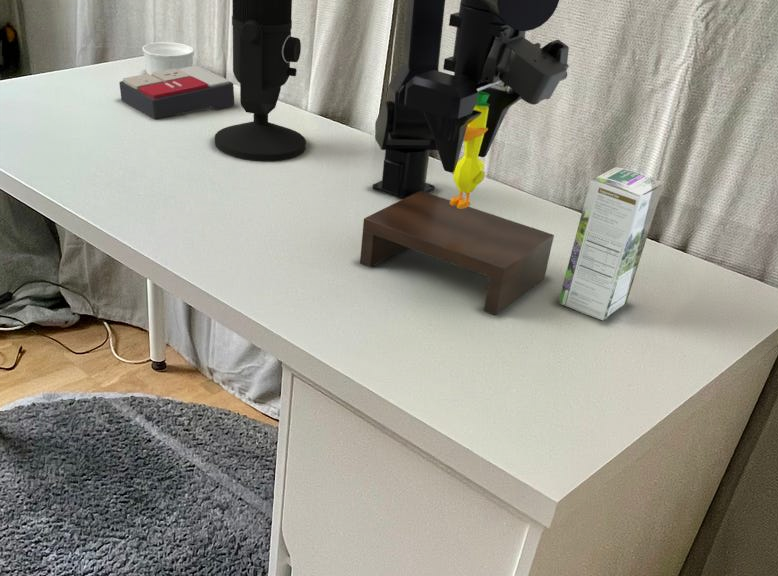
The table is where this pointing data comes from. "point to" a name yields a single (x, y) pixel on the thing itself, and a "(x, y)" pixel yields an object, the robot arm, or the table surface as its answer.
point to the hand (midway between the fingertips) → (465, 163)
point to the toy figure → (471, 155)
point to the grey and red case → (177, 91)
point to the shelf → (461, 243)
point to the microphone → (262, 80)
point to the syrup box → (609, 241)
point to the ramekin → (167, 56)
